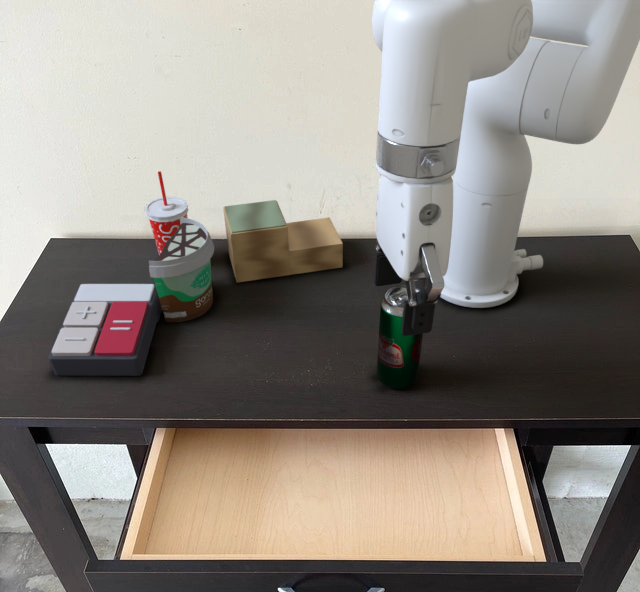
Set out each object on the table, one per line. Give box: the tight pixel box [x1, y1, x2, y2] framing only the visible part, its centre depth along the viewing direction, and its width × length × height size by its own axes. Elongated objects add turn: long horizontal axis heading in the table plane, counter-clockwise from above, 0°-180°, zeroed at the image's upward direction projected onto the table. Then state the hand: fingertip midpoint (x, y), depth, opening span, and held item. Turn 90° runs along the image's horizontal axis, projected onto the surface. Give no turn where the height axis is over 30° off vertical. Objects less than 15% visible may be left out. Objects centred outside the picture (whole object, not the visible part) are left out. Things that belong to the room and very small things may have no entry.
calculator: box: [47, 283, 163, 377], centre depth 86 cm, size 11×4×15 cm
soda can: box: [376, 284, 424, 390], centre depth 77 cm, size 5×5×12 cm
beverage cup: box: [144, 171, 189, 256], centre depth 95 cm, size 6×6×14 cm
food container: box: [148, 217, 215, 323], centre depth 89 cm, size 12×6×10 cm, turn 168°
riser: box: [222, 199, 344, 283], centre depth 97 cm, size 16×8×8 cm, turn 104°
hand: (401, 307), depth 73 cm, fingers open, 9 cm apart
